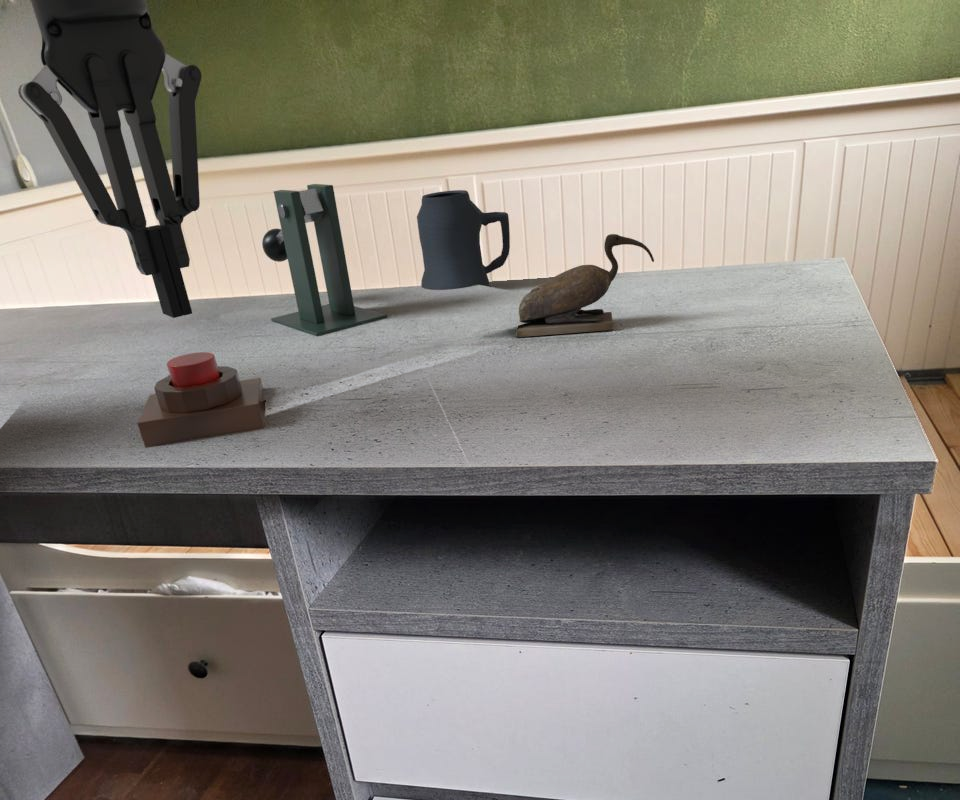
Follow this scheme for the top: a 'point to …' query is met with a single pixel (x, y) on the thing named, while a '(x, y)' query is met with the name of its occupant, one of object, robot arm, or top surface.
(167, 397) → the button block
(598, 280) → the figurine
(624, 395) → the top surface
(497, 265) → the mug
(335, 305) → the bracket
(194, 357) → the button
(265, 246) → the lever
